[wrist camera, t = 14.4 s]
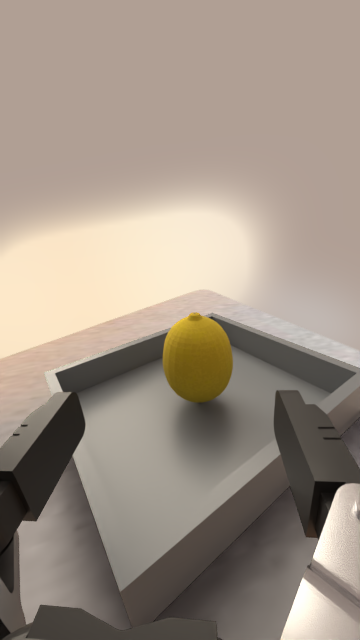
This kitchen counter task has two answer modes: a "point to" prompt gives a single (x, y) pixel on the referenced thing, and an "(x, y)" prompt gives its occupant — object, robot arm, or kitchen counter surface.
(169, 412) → the tray
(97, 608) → the kitchen counter surface
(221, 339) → the lemon
